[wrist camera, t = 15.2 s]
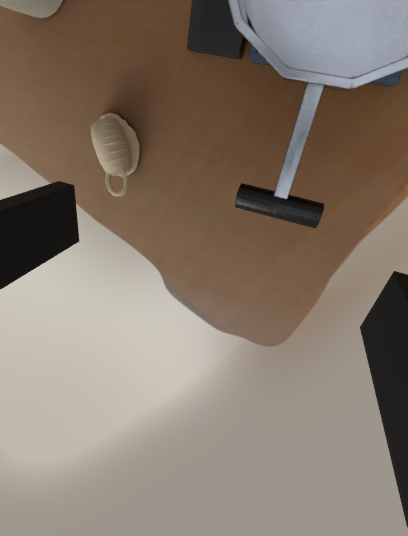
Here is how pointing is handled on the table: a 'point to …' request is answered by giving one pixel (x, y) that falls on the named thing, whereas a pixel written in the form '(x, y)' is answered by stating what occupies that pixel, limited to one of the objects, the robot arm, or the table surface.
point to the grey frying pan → (318, 71)
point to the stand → (214, 29)
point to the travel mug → (33, 7)
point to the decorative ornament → (115, 148)
